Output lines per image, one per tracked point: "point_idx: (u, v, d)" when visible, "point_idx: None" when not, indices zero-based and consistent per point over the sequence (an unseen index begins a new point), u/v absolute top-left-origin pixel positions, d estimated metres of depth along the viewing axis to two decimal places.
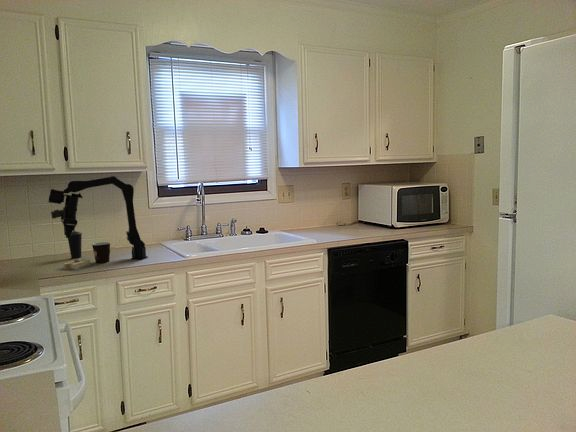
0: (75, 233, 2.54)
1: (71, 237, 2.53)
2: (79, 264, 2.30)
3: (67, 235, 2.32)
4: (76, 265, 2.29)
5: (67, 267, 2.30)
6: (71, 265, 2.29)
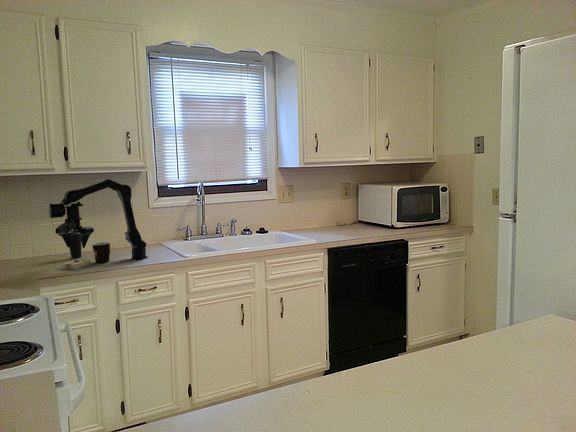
0: (75, 233, 2.54)
1: (71, 237, 2.53)
2: (79, 264, 2.30)
3: (84, 245, 2.31)
4: (76, 265, 2.29)
5: (67, 267, 2.30)
6: (71, 265, 2.29)
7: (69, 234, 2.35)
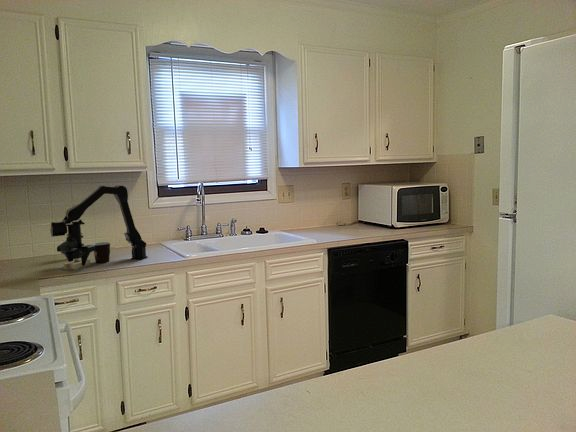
0: None
1: None
2: (79, 264, 2.30)
3: (83, 263, 2.32)
4: (76, 265, 2.29)
5: (67, 267, 2.30)
6: (71, 265, 2.29)
7: (72, 252, 2.36)
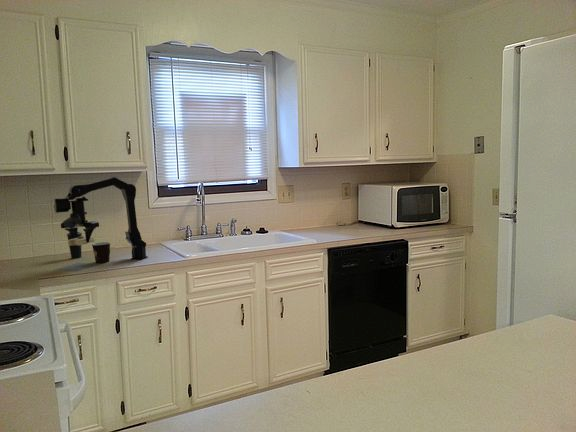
0: None
1: (71, 237, 2.53)
2: (83, 240, 2.31)
3: (88, 239, 2.33)
4: (80, 241, 2.29)
5: (71, 243, 2.30)
6: (75, 241, 2.29)
7: (76, 229, 2.37)
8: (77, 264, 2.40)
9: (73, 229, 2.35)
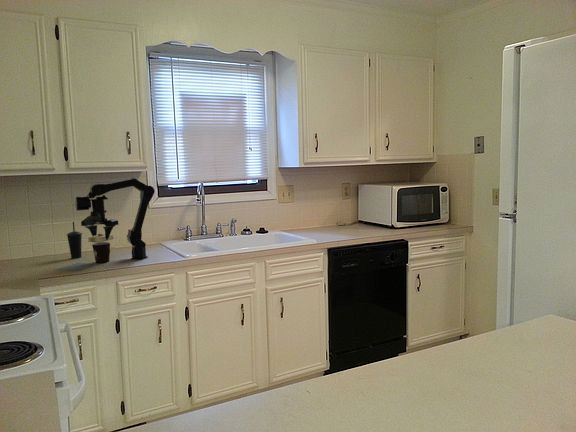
0: (75, 233, 2.54)
1: (71, 237, 2.53)
2: (103, 238, 2.37)
3: (107, 236, 2.39)
4: (100, 238, 2.36)
5: (91, 240, 2.37)
6: (95, 238, 2.36)
7: (95, 226, 2.43)
8: (77, 264, 2.40)
9: (93, 227, 2.42)
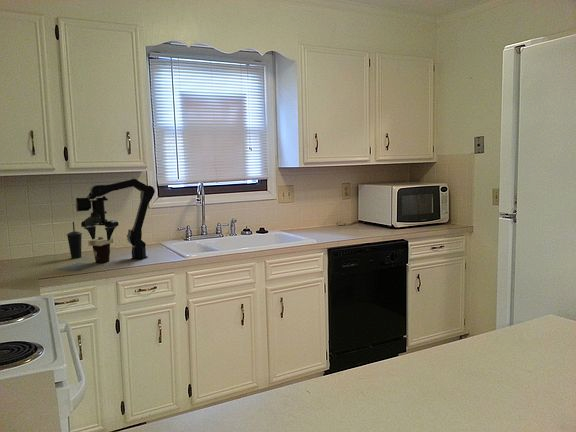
0: (75, 233, 2.54)
1: (71, 237, 2.53)
2: (103, 241, 2.38)
3: (109, 237, 2.39)
4: (100, 242, 2.36)
5: (91, 244, 2.37)
6: (95, 242, 2.36)
7: (94, 227, 2.44)
8: (77, 264, 2.40)
9: (91, 228, 2.42)
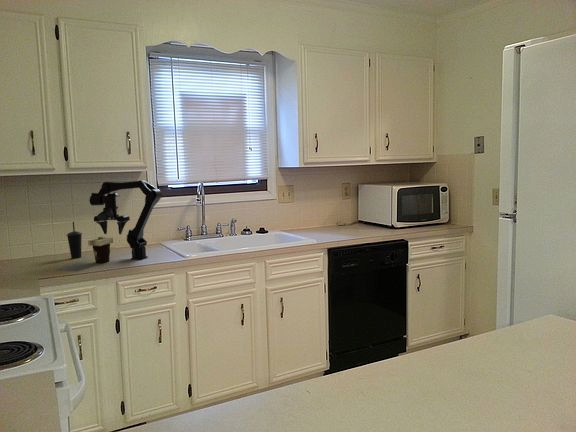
0: (75, 233, 2.54)
1: (71, 237, 2.53)
2: (103, 241, 2.38)
3: (120, 231, 2.51)
4: (100, 242, 2.36)
5: (91, 244, 2.37)
6: (95, 242, 2.36)
7: (106, 222, 2.55)
8: (77, 264, 2.40)
9: (103, 222, 2.53)
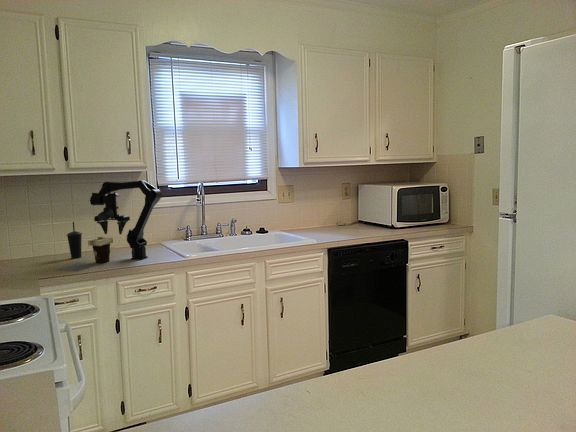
0: (75, 233, 2.54)
1: (71, 237, 2.53)
2: (103, 241, 2.38)
3: (120, 231, 2.51)
4: (100, 242, 2.36)
5: (91, 244, 2.37)
6: (95, 242, 2.36)
7: (106, 222, 2.55)
8: (77, 264, 2.40)
9: (104, 222, 2.54)
